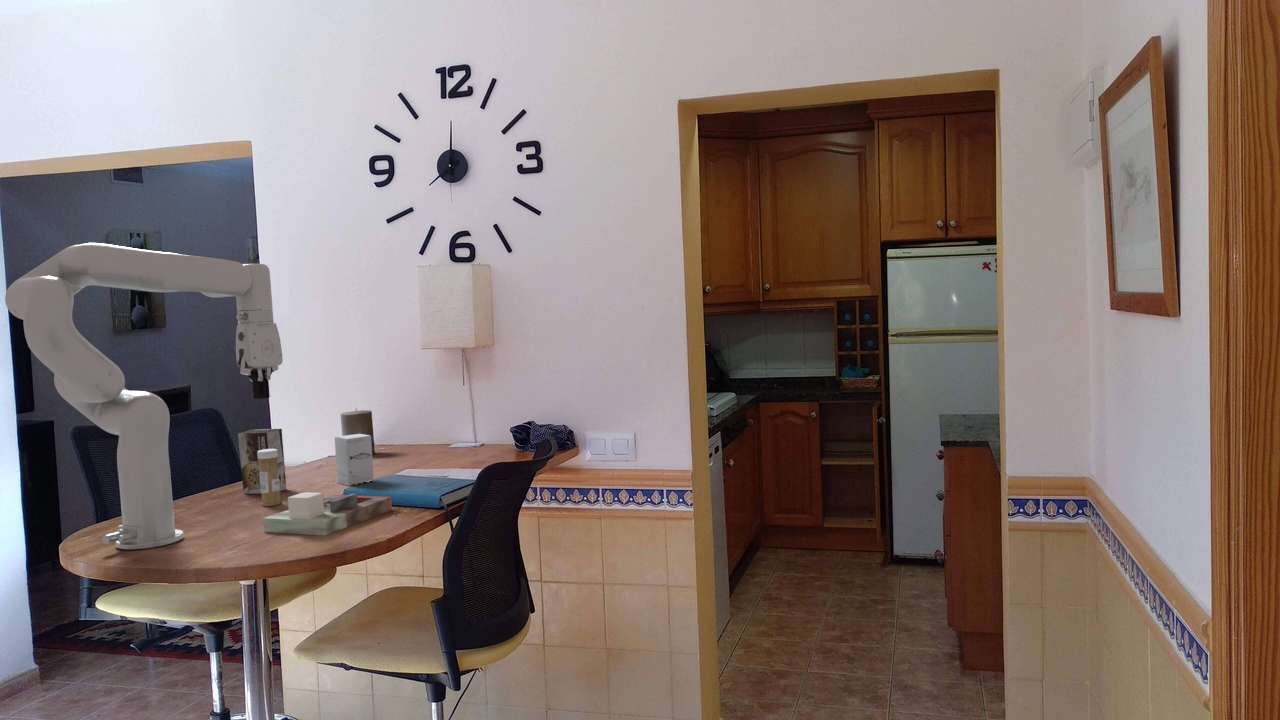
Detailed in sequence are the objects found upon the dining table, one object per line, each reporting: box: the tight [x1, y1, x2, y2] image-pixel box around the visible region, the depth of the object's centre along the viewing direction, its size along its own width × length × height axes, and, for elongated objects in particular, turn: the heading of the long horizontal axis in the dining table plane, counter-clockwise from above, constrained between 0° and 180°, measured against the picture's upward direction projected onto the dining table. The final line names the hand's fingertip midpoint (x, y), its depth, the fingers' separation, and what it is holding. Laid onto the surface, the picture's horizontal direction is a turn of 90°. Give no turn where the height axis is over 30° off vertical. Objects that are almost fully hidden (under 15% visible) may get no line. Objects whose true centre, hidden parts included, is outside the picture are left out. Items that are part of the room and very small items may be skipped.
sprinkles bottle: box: [257, 449, 282, 507], centre depth 229 cm, size 5×5×13 cm
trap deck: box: [262, 492, 393, 536], centre depth 209 cm, size 23×16×6 cm
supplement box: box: [334, 434, 375, 487], centre depth 253 cm, size 7×7×13 cm
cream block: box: [287, 491, 324, 519], centre depth 201 cm, size 5×5×4 cm
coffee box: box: [237, 428, 287, 495], centre depth 246 cm, size 9×6×16 cm
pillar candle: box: [339, 407, 376, 455], centre depth 299 cm, size 10×10×15 cm
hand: (261, 398), depth 216 cm, fingers closed
